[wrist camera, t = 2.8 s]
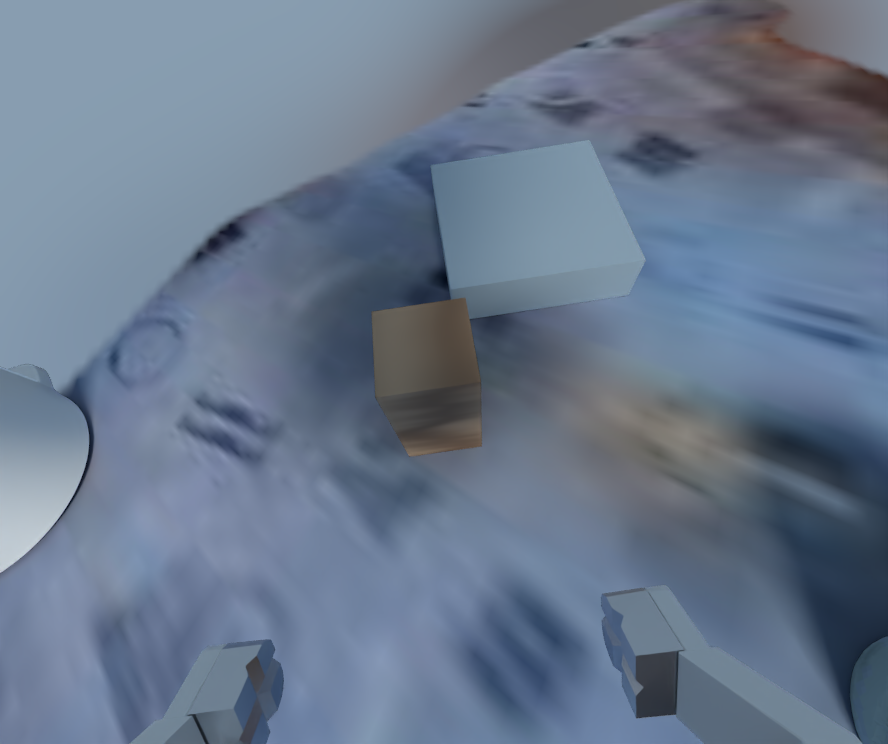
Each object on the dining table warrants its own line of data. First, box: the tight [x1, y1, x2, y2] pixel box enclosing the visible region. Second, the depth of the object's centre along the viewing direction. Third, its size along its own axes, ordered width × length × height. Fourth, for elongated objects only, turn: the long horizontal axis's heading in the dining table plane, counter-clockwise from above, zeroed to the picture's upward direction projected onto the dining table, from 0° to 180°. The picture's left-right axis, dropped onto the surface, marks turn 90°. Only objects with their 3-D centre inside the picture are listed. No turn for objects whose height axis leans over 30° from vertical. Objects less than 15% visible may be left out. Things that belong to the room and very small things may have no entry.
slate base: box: [430, 140, 646, 319], centre depth 34 cm, size 14×14×4 cm
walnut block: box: [372, 297, 482, 457], centre depth 25 cm, size 5×5×10 cm
